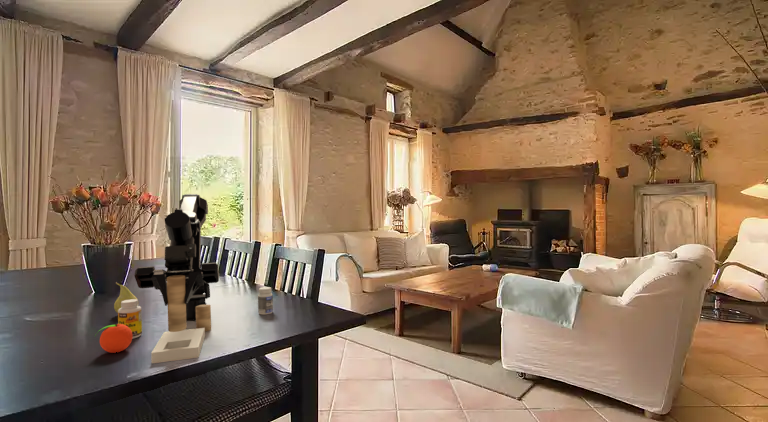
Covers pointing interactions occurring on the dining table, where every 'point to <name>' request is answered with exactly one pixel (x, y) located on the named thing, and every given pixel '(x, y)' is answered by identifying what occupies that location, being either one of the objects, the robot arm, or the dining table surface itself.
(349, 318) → the dining table surface
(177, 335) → the hole plate
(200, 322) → the short dowel
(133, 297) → the fruit
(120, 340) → the clementine
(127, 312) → the supplement bottle
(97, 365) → the dining table surface
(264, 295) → the pill bottle
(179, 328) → the long dowel
